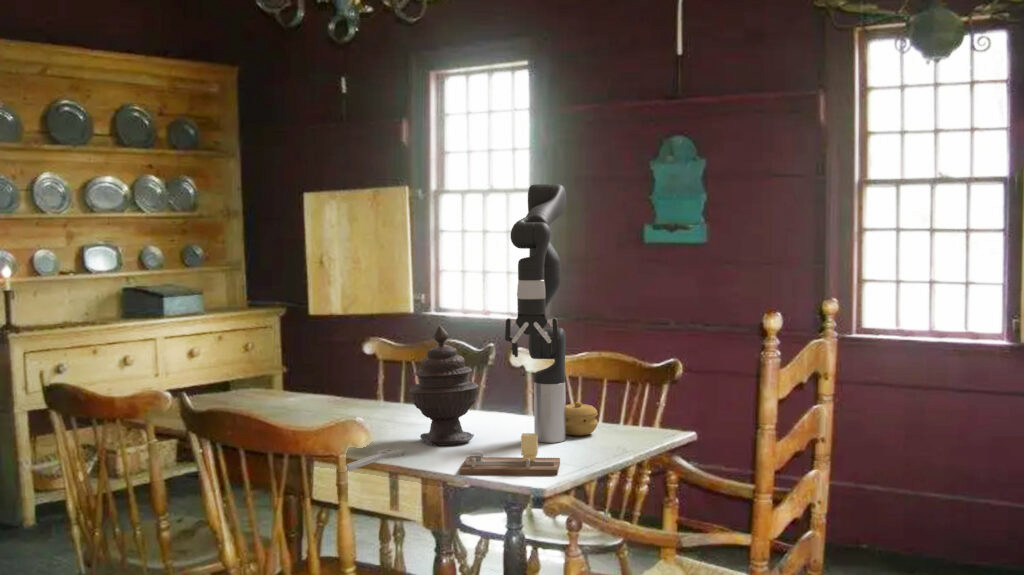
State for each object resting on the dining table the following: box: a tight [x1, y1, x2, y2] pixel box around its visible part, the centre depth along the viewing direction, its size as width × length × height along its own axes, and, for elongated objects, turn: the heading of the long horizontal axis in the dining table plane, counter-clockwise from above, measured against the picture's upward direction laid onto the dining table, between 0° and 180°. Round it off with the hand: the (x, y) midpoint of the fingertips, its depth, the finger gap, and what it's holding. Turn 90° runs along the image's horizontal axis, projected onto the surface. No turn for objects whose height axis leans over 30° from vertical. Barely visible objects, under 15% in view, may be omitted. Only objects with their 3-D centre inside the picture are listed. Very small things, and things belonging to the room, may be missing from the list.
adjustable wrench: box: [346, 448, 404, 472], centre depth 300 cm, size 25×6×2 cm, turn 147°
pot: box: [566, 401, 599, 437], centre depth 333 cm, size 12×12×10 cm
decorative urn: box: [408, 324, 479, 446], centre depth 324 cm, size 20×20×35 cm
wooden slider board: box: [459, 450, 561, 476], centre depth 288 cm, size 14×25×4 cm, turn 85°
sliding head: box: [520, 432, 539, 461], centre depth 288 cm, size 6×4×7 cm, turn 175°
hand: (532, 356), depth 297 cm, fingers open, 8 cm apart
